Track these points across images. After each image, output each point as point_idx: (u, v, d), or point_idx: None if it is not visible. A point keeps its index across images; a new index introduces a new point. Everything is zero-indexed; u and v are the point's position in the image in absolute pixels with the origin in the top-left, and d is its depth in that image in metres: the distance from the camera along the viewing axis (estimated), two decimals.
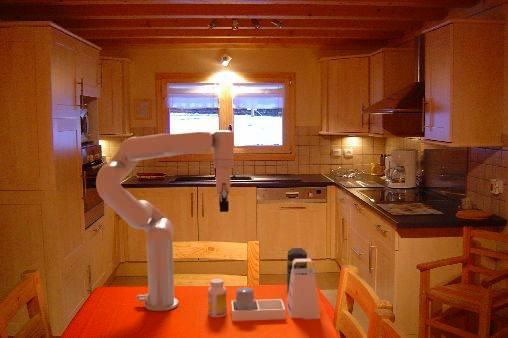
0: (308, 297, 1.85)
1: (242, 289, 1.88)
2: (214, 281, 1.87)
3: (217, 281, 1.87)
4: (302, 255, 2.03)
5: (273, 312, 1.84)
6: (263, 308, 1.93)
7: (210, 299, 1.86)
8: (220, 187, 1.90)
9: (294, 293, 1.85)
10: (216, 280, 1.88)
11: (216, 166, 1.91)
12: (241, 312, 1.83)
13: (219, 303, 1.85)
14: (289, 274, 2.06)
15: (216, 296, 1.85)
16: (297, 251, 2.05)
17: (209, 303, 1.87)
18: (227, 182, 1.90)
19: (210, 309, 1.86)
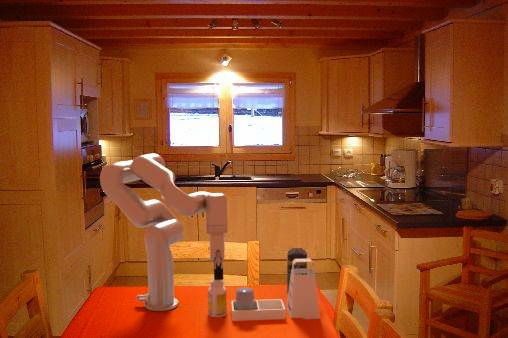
0: (308, 297, 1.85)
1: (242, 289, 1.88)
2: (214, 281, 1.87)
3: (217, 281, 1.87)
4: (302, 255, 2.03)
5: (273, 312, 1.84)
6: (263, 308, 1.93)
7: (210, 299, 1.86)
8: (214, 254, 1.81)
9: (294, 293, 1.85)
10: (216, 280, 1.88)
11: (209, 232, 1.83)
12: (241, 312, 1.83)
13: (219, 303, 1.85)
14: (289, 274, 2.06)
15: (216, 296, 1.85)
16: (297, 251, 2.05)
17: (209, 303, 1.87)
18: (221, 249, 1.81)
19: (210, 309, 1.86)
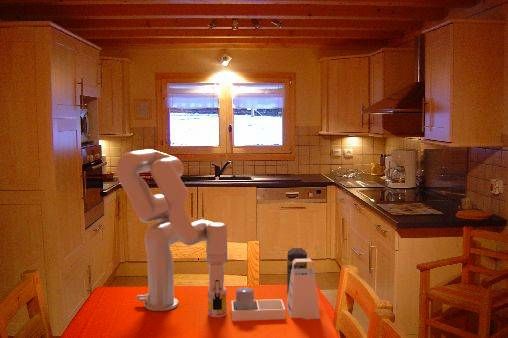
0: (308, 297, 1.85)
1: (242, 289, 1.88)
2: None
3: None
4: (302, 255, 2.03)
5: (273, 312, 1.84)
6: (263, 308, 1.93)
7: (210, 299, 1.86)
8: (213, 284, 1.82)
9: (294, 293, 1.85)
10: None
11: (209, 261, 1.84)
12: (241, 312, 1.83)
13: None
14: (289, 274, 2.06)
15: None
16: (297, 251, 2.05)
17: (209, 303, 1.87)
18: (220, 279, 1.83)
19: (210, 309, 1.86)
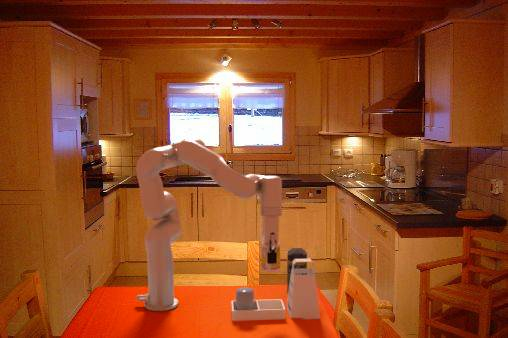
0: (308, 297, 1.85)
1: (242, 289, 1.88)
2: None
3: None
4: (302, 255, 2.03)
5: (273, 312, 1.84)
6: (263, 308, 1.93)
7: (264, 253, 1.84)
8: (268, 237, 1.80)
9: (294, 293, 1.85)
10: None
11: (264, 214, 1.81)
12: (241, 312, 1.83)
13: None
14: (289, 274, 2.06)
15: None
16: (297, 251, 2.05)
17: (263, 257, 1.84)
18: (276, 232, 1.80)
19: (264, 263, 1.84)
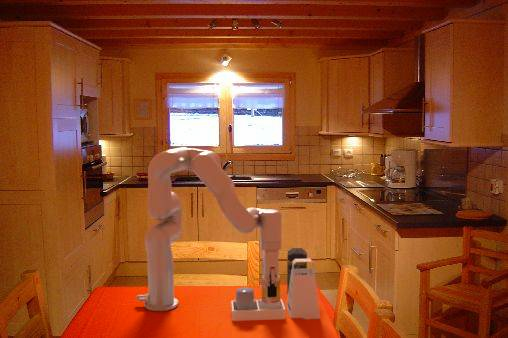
0: (308, 297, 1.85)
1: (242, 289, 1.88)
2: None
3: None
4: (302, 255, 2.03)
5: (273, 312, 1.84)
6: (263, 308, 1.93)
7: (264, 286, 1.85)
8: (268, 271, 1.81)
9: (294, 293, 1.85)
10: None
11: (264, 248, 1.83)
12: (241, 312, 1.83)
13: None
14: (289, 274, 2.06)
15: None
16: (297, 251, 2.05)
17: (263, 290, 1.86)
18: (275, 266, 1.82)
19: (264, 296, 1.85)
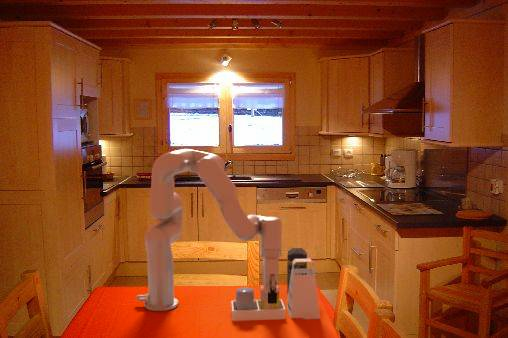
0: (308, 297, 1.85)
1: (242, 289, 1.88)
2: None
3: None
4: (302, 255, 2.03)
5: (273, 312, 1.84)
6: None
7: (263, 297, 1.86)
8: (268, 278, 1.82)
9: (294, 293, 1.85)
10: None
11: (264, 256, 1.83)
12: (241, 312, 1.83)
13: None
14: (289, 274, 2.06)
15: None
16: (297, 251, 2.05)
17: (262, 301, 1.86)
18: (275, 273, 1.82)
19: (263, 307, 1.86)
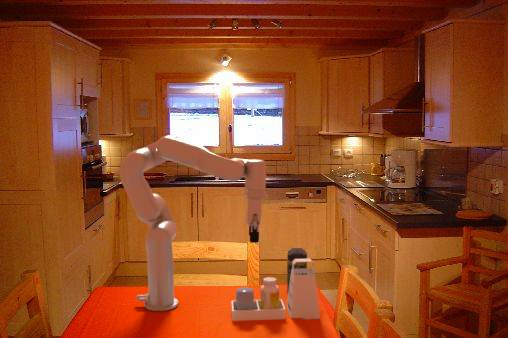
0: (308, 297, 1.85)
1: (242, 289, 1.88)
2: (267, 279, 1.87)
3: (270, 279, 1.87)
4: (302, 255, 2.03)
5: (273, 312, 1.84)
6: None
7: (263, 297, 1.86)
8: (251, 218, 1.88)
9: (294, 293, 1.85)
10: (269, 278, 1.88)
11: (248, 196, 1.89)
12: (241, 312, 1.83)
13: (273, 302, 1.85)
14: (289, 274, 2.06)
15: (269, 295, 1.85)
16: (297, 251, 2.05)
17: (262, 301, 1.86)
18: (258, 213, 1.88)
19: (263, 307, 1.86)
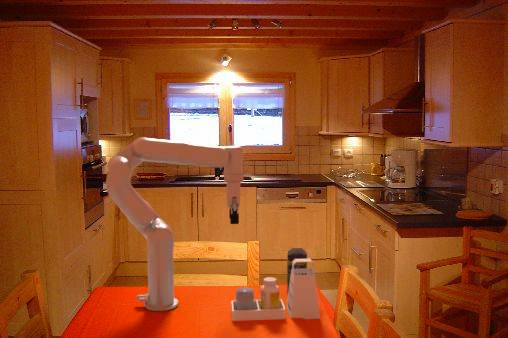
0: (308, 297, 1.85)
1: (242, 289, 1.88)
2: (267, 279, 1.87)
3: (270, 279, 1.87)
4: (302, 255, 2.03)
5: (273, 312, 1.84)
6: None
7: (263, 297, 1.86)
8: (231, 200, 1.99)
9: (294, 293, 1.85)
10: (269, 278, 1.88)
11: (227, 180, 2.00)
12: (241, 312, 1.83)
13: (273, 302, 1.85)
14: (289, 274, 2.06)
15: (269, 295, 1.85)
16: (297, 251, 2.05)
17: (262, 301, 1.86)
18: (237, 196, 1.99)
19: (263, 307, 1.86)
